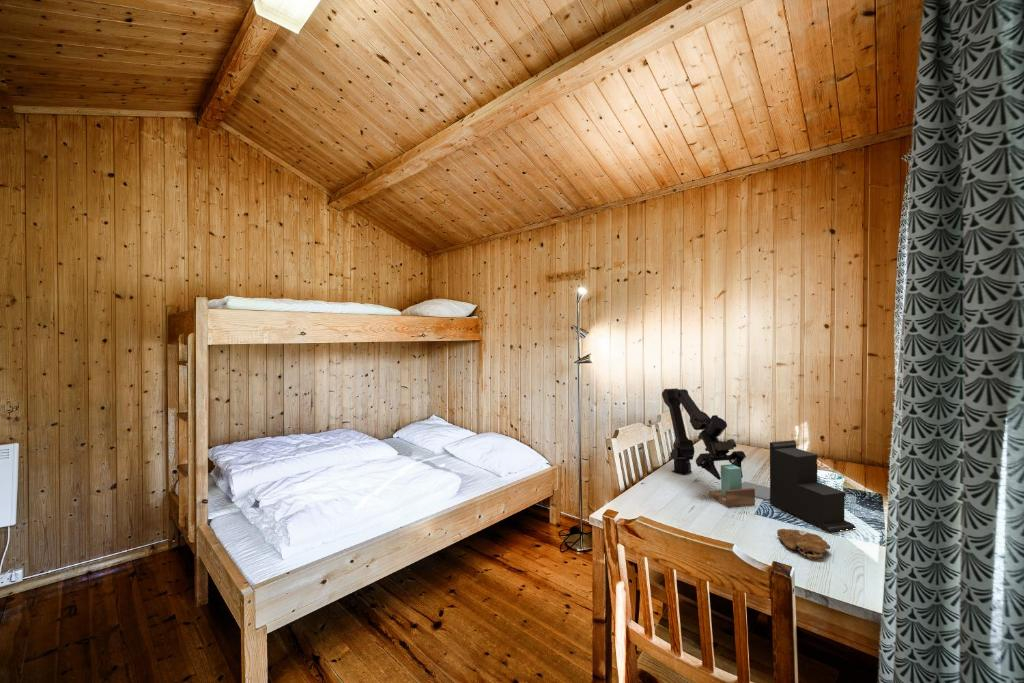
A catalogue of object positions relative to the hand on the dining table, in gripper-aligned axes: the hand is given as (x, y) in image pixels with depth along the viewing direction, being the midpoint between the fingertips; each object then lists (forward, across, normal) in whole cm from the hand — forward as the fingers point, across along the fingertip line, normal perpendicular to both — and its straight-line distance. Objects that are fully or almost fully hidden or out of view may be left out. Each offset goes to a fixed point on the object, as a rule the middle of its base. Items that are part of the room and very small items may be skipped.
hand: (730, 478), depth 157 cm
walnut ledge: (+6, 0, +6) cm, 8 cm away
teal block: (+5, 0, +4) cm, 6 cm away
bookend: (+19, +17, -6) cm, 26 cm away
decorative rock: (+32, -2, -19) cm, 37 cm away
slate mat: (+1, +16, +11) cm, 19 cm away
